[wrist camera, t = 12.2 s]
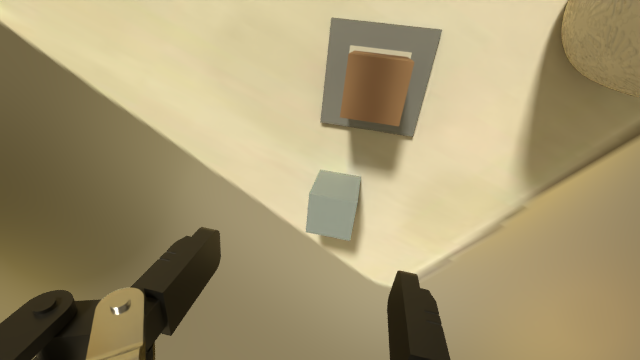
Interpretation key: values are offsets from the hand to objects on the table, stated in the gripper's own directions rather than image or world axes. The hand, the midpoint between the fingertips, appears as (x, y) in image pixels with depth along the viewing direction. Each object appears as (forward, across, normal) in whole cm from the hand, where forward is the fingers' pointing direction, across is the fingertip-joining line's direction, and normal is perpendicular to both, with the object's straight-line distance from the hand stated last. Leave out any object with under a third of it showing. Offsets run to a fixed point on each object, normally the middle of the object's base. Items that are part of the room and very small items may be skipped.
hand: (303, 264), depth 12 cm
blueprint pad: (+21, -2, -6) cm, 22 cm away
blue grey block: (+22, 0, +8) cm, 23 cm away
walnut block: (+20, -2, -6) cm, 21 cm away
